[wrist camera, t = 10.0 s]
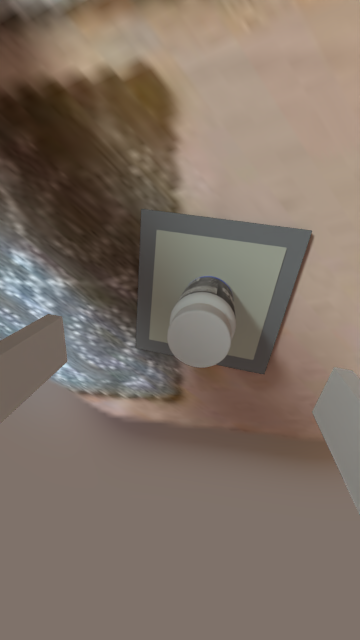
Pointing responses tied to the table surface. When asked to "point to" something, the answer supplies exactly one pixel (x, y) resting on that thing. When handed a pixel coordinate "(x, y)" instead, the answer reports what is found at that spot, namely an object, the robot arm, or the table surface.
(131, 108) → the table surface
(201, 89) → the table surface
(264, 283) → the coaster
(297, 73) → the table surface
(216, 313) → the pill bottle
